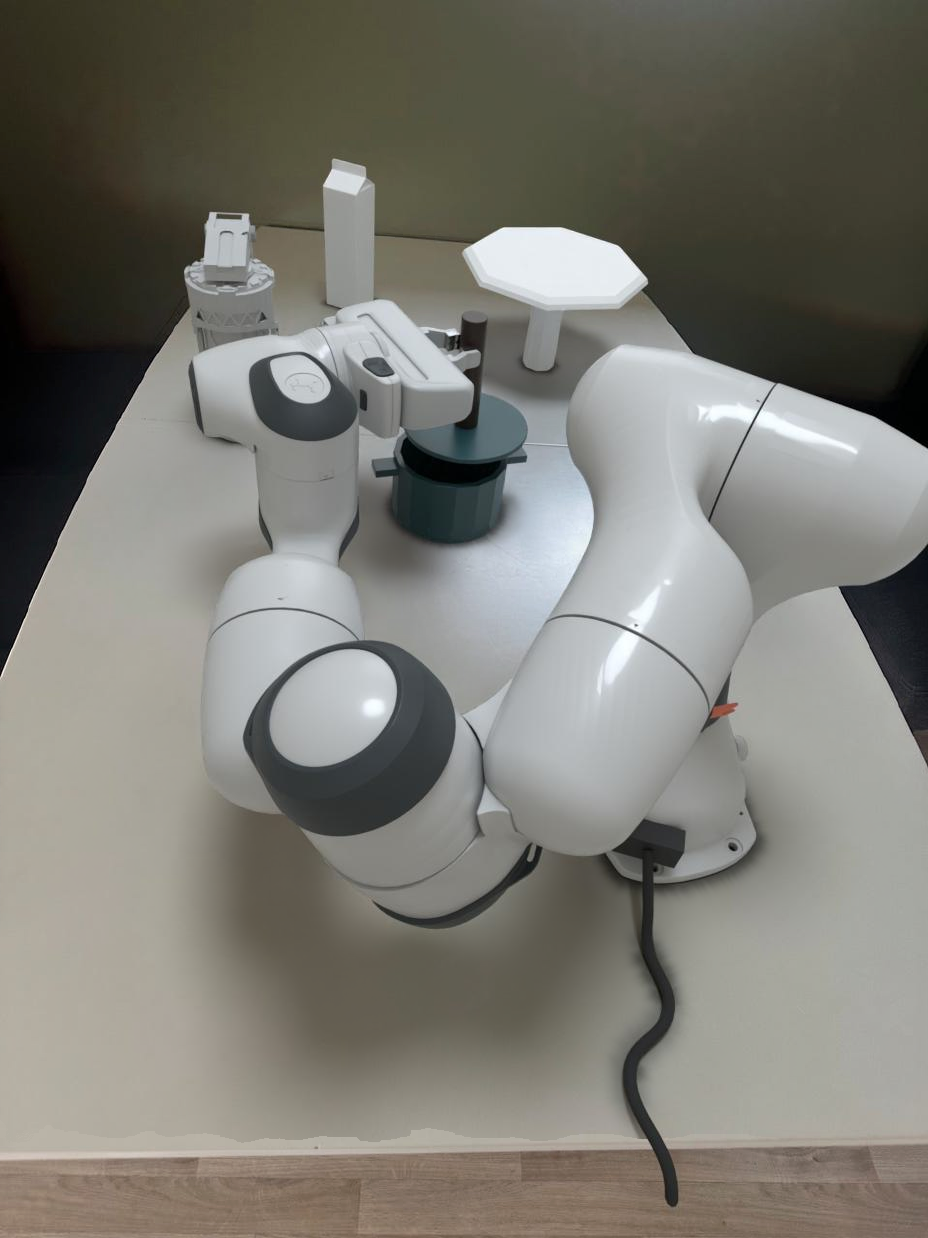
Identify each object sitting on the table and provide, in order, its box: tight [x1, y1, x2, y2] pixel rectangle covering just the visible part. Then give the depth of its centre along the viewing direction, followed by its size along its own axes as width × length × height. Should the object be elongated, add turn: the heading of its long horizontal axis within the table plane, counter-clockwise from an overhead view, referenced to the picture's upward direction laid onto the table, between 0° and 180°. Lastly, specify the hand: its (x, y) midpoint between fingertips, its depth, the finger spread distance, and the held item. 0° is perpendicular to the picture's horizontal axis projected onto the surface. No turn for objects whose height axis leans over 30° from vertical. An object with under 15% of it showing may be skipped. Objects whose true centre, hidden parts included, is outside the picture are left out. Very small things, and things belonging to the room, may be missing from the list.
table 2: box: [461, 226, 649, 372], centre depth 124 cm, size 28×28×17 cm
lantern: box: [183, 211, 280, 444], centre depth 102 cm, size 13×10×25 cm
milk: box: [322, 158, 376, 309], centre depth 130 cm, size 6×6×22 cm
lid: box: [403, 310, 529, 464], centre depth 89 cm, size 15×15×14 cm
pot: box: [371, 431, 528, 544], centre depth 99 cm, size 14×19×8 cm
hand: (468, 346), depth 86 cm, fingers closed on lid, 2 cm apart
